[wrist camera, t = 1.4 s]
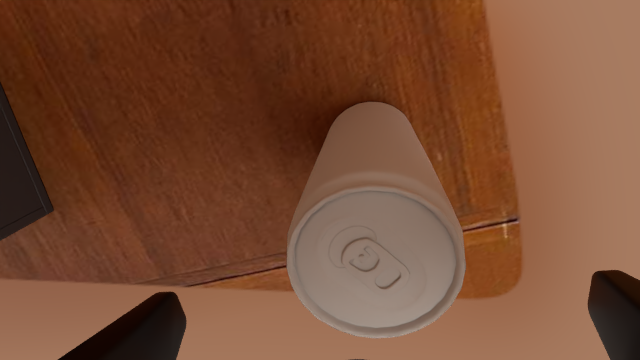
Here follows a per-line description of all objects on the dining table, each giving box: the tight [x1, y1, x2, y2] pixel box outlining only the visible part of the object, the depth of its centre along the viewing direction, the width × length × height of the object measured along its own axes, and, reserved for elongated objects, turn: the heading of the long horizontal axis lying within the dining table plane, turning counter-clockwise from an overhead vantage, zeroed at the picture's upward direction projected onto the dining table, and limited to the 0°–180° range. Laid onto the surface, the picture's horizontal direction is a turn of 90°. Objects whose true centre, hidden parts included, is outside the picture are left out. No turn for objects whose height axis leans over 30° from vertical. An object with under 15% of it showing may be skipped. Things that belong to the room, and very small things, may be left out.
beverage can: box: [287, 102, 466, 338], centre depth 15 cm, size 5×5×12 cm
